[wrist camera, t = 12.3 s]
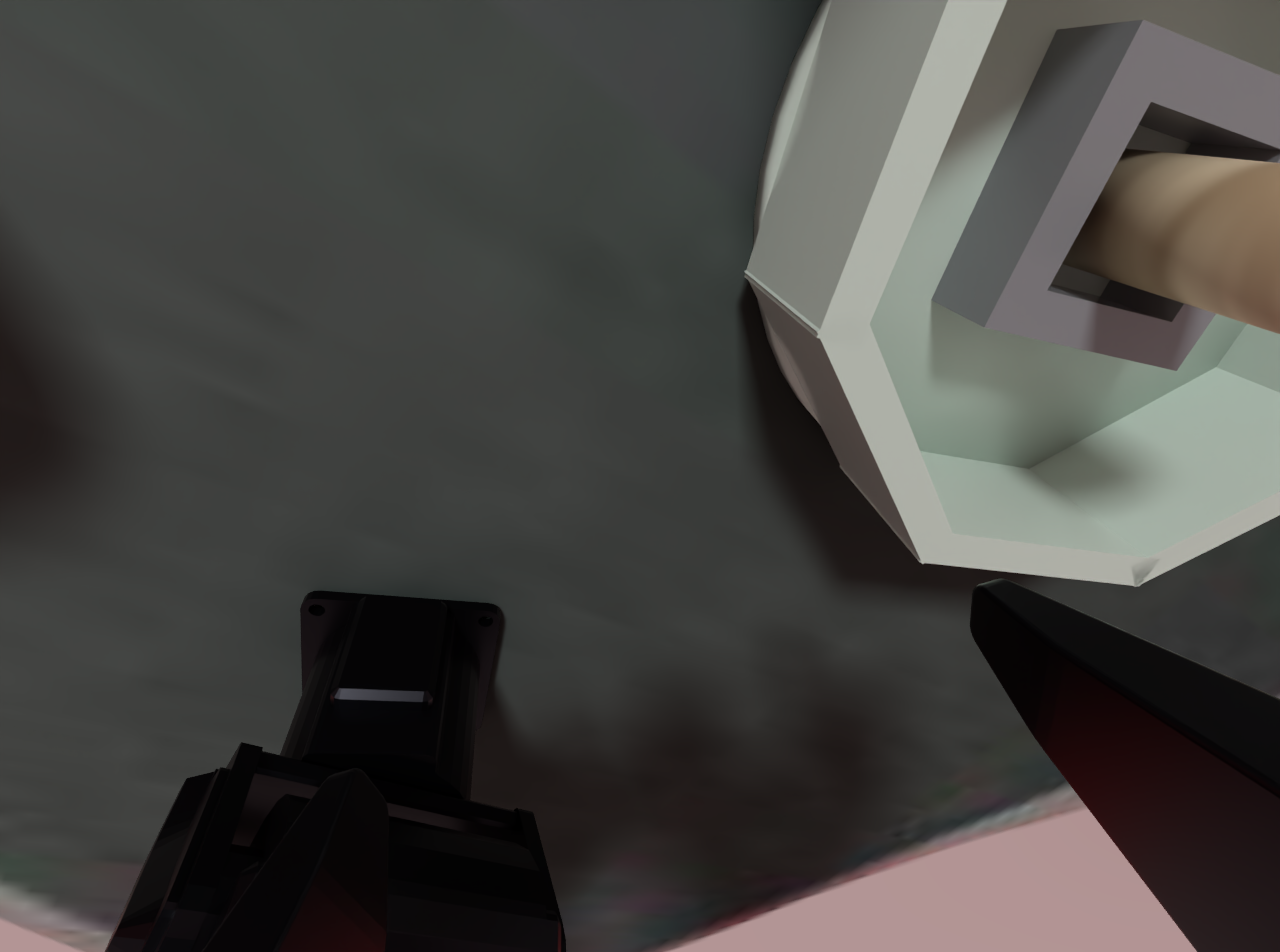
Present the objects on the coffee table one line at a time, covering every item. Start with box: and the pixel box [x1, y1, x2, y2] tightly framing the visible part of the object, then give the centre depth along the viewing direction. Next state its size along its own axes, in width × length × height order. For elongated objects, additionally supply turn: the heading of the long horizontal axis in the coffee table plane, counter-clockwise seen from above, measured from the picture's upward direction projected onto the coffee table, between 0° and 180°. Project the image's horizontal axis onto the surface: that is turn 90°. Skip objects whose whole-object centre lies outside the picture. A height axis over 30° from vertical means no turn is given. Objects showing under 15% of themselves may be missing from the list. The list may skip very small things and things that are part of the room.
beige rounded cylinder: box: [1062, 148, 1280, 334], centre depth 14 cm, size 3×3×9 cm
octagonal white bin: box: [744, 0, 1280, 587], centre depth 16 cm, size 18×18×6 cm
